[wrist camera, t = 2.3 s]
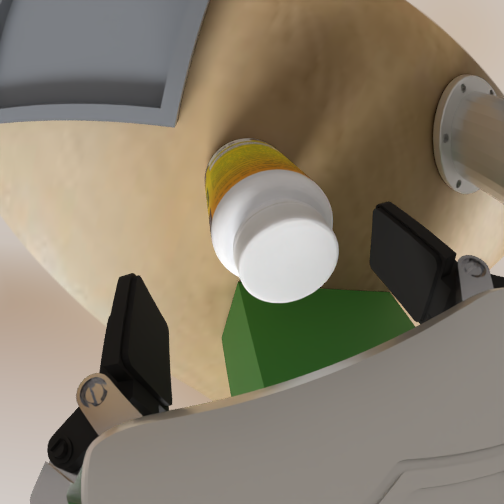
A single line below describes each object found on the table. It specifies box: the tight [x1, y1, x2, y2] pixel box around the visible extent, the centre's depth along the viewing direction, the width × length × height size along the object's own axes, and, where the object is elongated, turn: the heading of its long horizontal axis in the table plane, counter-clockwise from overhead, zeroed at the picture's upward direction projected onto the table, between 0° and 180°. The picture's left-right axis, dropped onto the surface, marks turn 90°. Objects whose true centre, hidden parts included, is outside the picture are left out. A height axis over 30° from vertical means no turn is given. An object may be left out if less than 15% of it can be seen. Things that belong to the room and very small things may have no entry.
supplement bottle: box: [205, 138, 339, 303], centre depth 14 cm, size 6×6×10 cm
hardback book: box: [222, 282, 415, 397], centre depth 18 cm, size 18×7×24 cm, turn 74°
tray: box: [0, 0, 210, 128], centre depth 9 cm, size 16×13×2 cm
